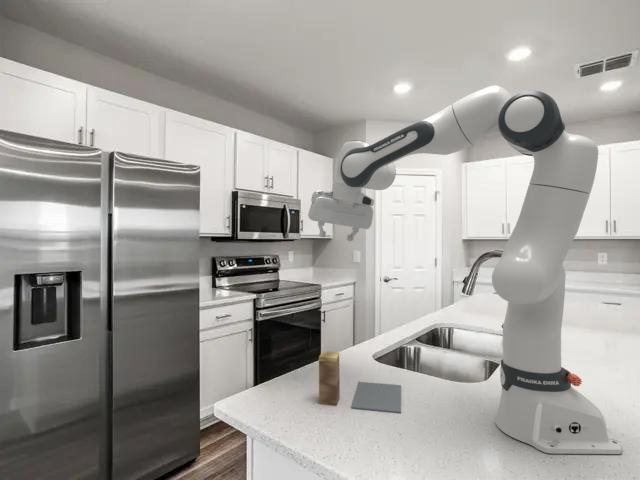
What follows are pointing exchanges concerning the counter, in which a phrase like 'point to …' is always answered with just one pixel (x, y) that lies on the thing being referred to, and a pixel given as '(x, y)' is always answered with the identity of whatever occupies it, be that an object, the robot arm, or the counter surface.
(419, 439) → the counter surface
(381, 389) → the mat
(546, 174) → the robot arm
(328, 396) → the block
